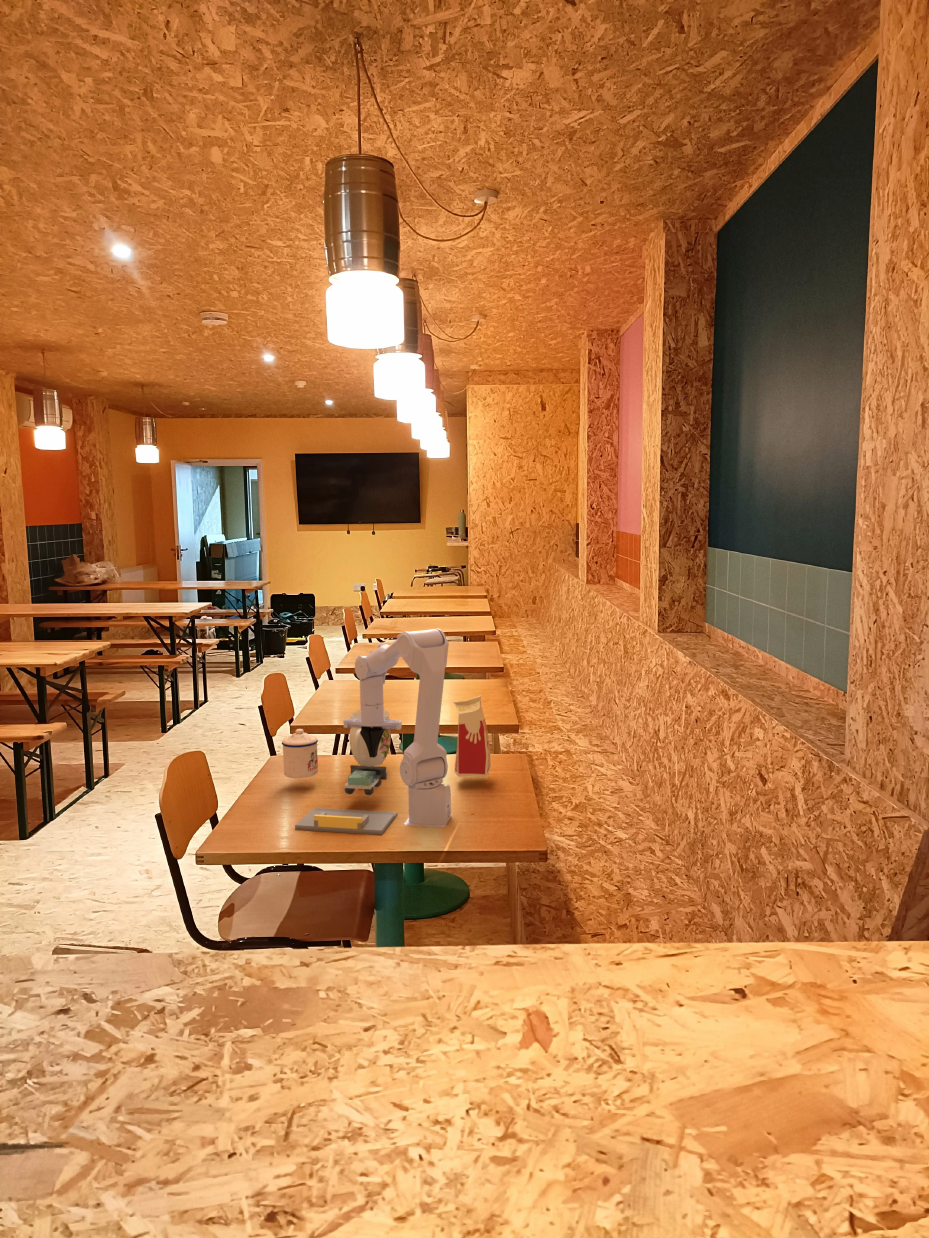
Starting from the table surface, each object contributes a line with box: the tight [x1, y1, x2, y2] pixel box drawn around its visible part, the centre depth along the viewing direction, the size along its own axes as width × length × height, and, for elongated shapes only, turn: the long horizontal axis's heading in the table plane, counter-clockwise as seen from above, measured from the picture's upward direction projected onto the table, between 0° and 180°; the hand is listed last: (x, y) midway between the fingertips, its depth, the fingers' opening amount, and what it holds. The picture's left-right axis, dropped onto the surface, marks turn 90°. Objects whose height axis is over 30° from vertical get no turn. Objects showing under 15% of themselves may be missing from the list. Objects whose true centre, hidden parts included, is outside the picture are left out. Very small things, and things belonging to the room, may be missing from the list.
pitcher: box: [348, 709, 392, 766], centre depth 213 cm, size 11×18×14 cm, turn 166°
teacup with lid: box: [281, 728, 319, 779], centre depth 207 cm, size 12×9×12 cm
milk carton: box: [452, 695, 492, 778], centre depth 205 cm, size 9×9×20 cm
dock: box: [294, 807, 398, 836], centre depth 181 cm, size 20×12×3 cm, turn 79°
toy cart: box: [344, 764, 388, 796], centre depth 192 cm, size 9×9×5 cm
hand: (373, 756), depth 200 cm, fingers closed
